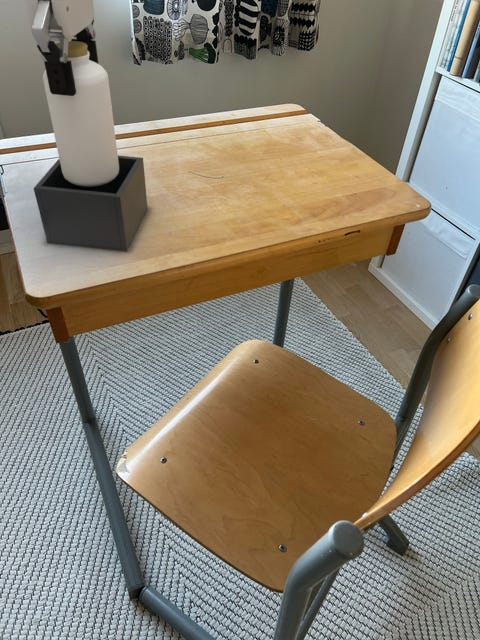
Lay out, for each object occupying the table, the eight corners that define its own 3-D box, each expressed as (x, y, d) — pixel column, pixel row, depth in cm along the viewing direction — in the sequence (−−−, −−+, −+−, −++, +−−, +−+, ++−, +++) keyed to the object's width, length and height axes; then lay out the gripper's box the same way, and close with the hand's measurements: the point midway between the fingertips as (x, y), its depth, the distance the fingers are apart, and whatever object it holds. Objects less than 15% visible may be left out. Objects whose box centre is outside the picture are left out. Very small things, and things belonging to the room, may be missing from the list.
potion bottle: (125, 165, 80) (110, 38, 68) (113, 191, 74) (95, 57, 62) (71, 162, 80) (48, 34, 68) (56, 188, 74) (26, 53, 62)
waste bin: (47, 245, 79) (33, 188, 73) (76, 204, 88) (65, 150, 82) (127, 254, 78) (120, 196, 72) (148, 211, 88) (143, 157, 81)
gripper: (47, -92, 63) (72, 60, 75) (-23, -78, 50) (20, 103, 62) (106, -88, 62) (122, 65, 74) (51, -73, 50) (81, 109, 62)
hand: (76, 82), depth 68 cm, fingers closed on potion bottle, 8 cm apart
